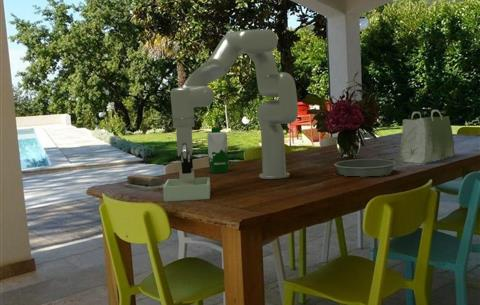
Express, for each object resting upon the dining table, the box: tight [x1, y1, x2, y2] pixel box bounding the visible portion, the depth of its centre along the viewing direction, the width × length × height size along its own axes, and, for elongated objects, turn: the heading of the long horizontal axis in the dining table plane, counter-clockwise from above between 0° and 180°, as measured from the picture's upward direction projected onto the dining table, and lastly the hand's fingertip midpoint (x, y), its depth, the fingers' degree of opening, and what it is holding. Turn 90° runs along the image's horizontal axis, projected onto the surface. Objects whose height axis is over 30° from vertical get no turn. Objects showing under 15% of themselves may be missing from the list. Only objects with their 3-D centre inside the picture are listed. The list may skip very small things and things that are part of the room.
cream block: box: [178, 168, 196, 186], centre depth 188 cm, size 5×5×8 cm
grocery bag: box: [396, 109, 455, 164], centre depth 246 cm, size 32×14×23 cm, turn 135°
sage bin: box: [162, 176, 211, 202], centre depth 189 cm, size 16×16×5 cm
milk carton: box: [206, 127, 229, 175], centre depth 240 cm, size 9×9×20 cm
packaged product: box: [123, 173, 165, 192], centre depth 213 cm, size 18×5×10 cm
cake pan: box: [333, 158, 397, 178], centre depth 218 cm, size 25×25×4 cm
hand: (187, 171), depth 188 cm, fingers open, 9 cm apart
